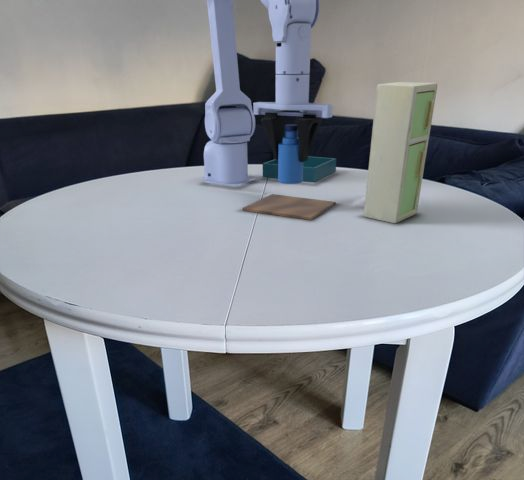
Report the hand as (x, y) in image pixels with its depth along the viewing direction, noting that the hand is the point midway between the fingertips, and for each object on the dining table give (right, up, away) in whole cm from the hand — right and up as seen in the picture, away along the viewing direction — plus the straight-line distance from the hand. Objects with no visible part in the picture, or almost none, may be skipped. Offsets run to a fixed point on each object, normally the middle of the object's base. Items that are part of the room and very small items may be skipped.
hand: (290, 159), depth 88 cm
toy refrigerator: (+18, -11, -1) cm, 21 cm away
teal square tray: (+4, +7, +28) cm, 29 cm away
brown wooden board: (0, -7, +4) cm, 9 cm away
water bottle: (0, -3, +2) cm, 4 cm away
